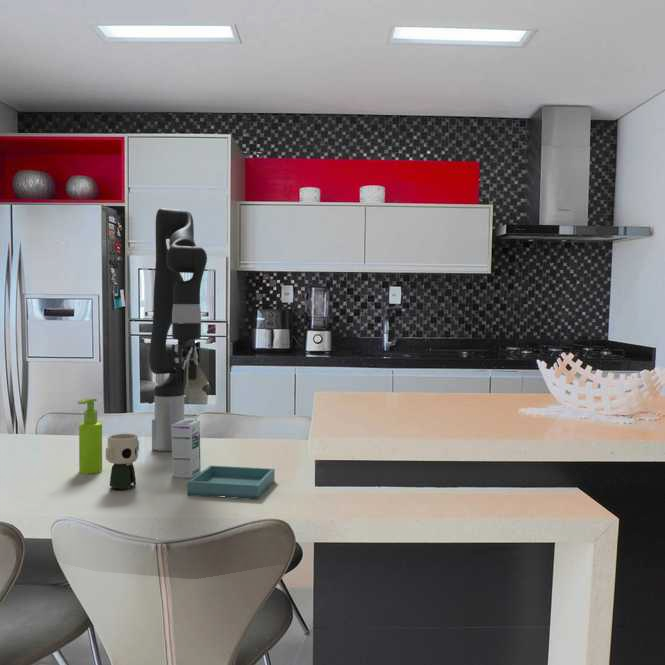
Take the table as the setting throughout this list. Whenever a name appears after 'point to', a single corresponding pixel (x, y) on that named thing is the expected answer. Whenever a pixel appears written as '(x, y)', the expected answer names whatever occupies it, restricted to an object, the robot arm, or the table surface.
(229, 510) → the table surface
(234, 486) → the teal tray
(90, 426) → the soap dispenser
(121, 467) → the character mug
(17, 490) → the table surface
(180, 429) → the syrup box
